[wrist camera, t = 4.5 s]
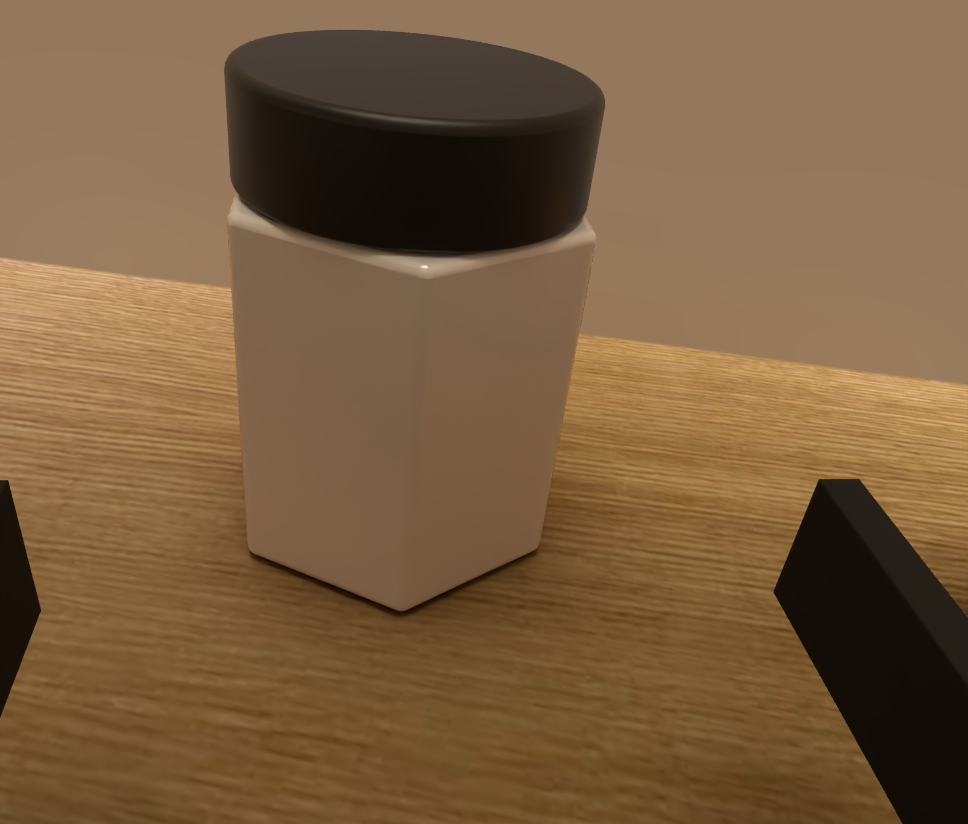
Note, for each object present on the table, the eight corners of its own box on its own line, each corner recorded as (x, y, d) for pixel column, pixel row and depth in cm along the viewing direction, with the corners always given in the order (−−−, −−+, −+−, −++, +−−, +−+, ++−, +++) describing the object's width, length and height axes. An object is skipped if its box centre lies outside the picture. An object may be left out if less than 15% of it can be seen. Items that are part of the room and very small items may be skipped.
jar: (581, 473, 27) (664, 75, 21) (481, 654, 21) (556, 158, 14) (333, 391, 30) (336, 11, 23) (175, 531, 23) (116, 59, 17)
